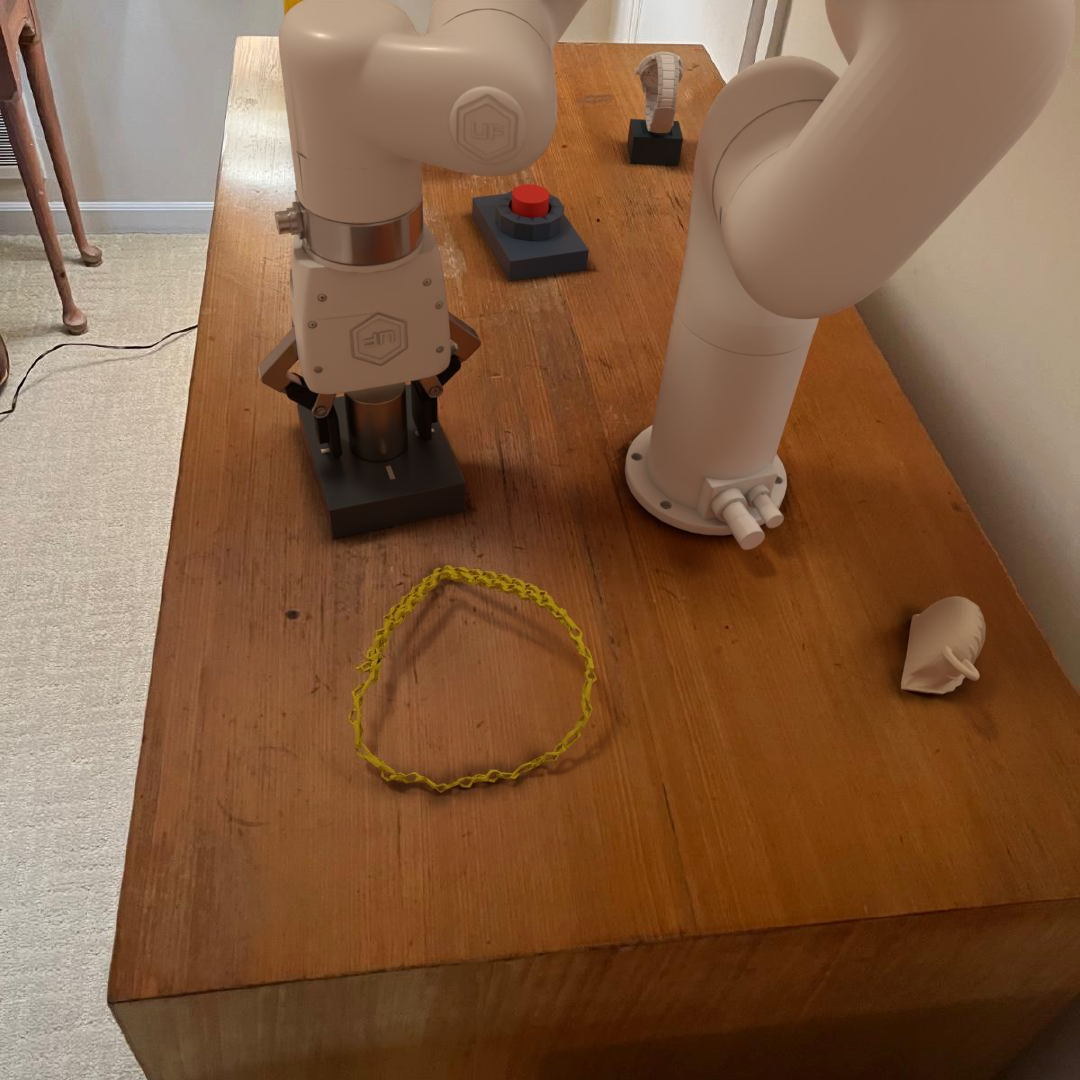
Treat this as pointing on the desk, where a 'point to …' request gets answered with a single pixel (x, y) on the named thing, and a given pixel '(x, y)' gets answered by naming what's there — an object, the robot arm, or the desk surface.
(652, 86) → the watch
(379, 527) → the panel
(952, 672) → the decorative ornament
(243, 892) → the desk surface
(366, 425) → the dial
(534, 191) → the button
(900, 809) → the desk surface
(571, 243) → the button block
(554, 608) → the decorative chain
